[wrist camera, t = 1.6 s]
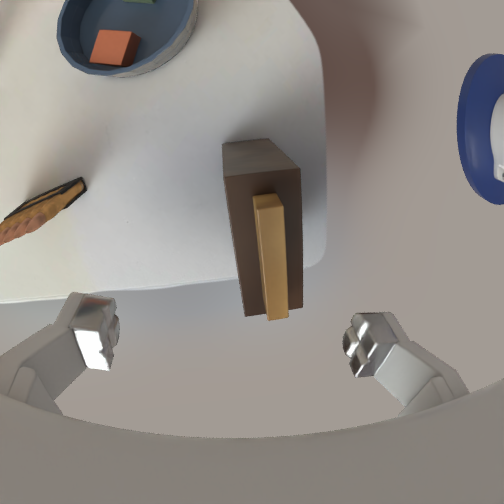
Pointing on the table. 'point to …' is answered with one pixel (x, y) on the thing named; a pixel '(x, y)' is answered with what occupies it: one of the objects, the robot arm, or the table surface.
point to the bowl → (125, 19)
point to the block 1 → (115, 48)
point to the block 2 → (141, 1)
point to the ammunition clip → (40, 210)
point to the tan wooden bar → (272, 254)
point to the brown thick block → (243, 218)
